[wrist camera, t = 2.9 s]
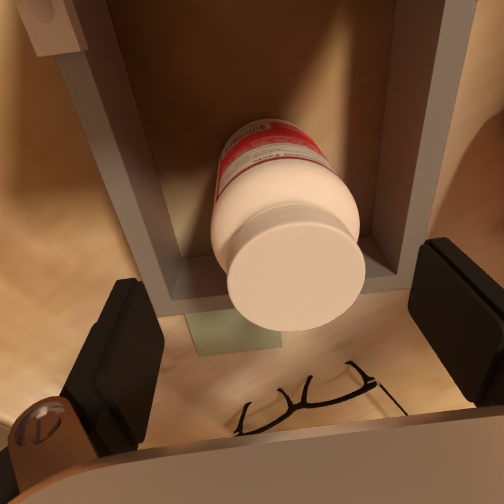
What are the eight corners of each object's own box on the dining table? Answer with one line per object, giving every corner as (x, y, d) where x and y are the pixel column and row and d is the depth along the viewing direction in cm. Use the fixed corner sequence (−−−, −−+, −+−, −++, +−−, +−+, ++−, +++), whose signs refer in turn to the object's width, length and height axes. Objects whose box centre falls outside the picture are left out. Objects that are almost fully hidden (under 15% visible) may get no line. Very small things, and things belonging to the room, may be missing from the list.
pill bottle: (292, 224, 22) (331, 359, 13) (205, 196, 21) (182, 326, 12) (336, 138, 19) (430, 236, 10) (238, 97, 18) (242, 169, 8)
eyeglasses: (367, 343, 30) (383, 382, 27) (418, 415, 38) (435, 452, 35) (225, 404, 35) (224, 443, 32) (296, 457, 43) (301, 493, 39)
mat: (178, 290, 25) (177, 293, 25) (275, 279, 25) (275, 282, 24) (198, 352, 29) (198, 356, 29) (281, 343, 29) (281, 347, 29)
